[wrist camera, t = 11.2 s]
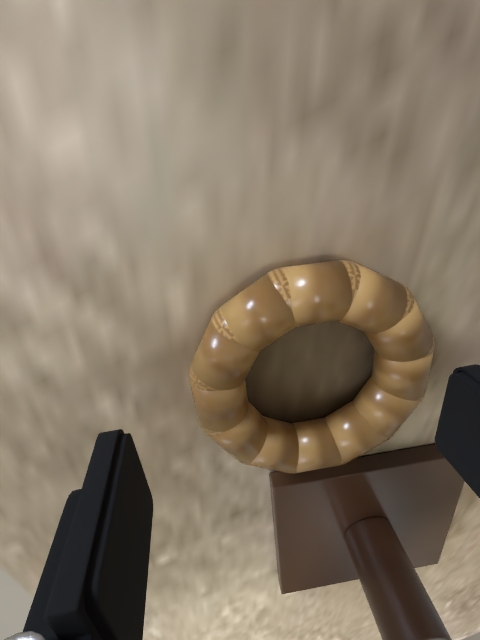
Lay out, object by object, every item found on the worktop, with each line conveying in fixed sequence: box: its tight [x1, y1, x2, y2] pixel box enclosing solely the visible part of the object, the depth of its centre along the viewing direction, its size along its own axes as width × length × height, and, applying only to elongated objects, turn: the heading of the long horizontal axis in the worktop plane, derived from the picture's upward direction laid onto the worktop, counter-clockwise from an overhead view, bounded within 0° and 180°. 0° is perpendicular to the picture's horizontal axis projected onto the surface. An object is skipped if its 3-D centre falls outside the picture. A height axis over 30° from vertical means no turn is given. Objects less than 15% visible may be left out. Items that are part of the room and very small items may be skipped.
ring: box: [189, 260, 435, 474], centre depth 12 cm, size 8×8×2 cm
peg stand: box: [270, 444, 464, 640], centre depth 15 cm, size 9×9×5 cm
